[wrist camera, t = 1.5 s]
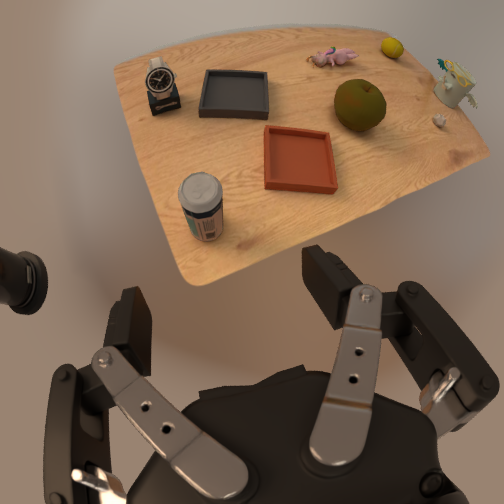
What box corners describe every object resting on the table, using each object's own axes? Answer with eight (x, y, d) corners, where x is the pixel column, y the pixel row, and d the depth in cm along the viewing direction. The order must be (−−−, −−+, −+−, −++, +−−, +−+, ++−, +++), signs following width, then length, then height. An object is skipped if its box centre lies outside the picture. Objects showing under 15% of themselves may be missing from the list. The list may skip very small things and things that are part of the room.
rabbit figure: (316, 76, 51) (363, 65, 52) (319, 58, 46) (368, 49, 46) (301, 61, 52) (348, 51, 53) (303, 44, 47) (352, 36, 47)
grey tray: (199, 117, 44) (198, 109, 41) (206, 77, 47) (206, 69, 44) (267, 120, 45) (269, 111, 42) (265, 80, 48) (267, 72, 45)
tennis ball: (374, 48, 57) (382, 33, 51) (386, 48, 59) (394, 33, 52) (390, 62, 56) (399, 46, 50) (401, 61, 58) (410, 47, 51)
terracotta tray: (264, 189, 41) (266, 182, 39) (263, 133, 44) (265, 125, 42) (333, 194, 42) (338, 188, 40) (325, 140, 45) (329, 132, 42)
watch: (154, 122, 43) (141, 79, 32) (149, 96, 44) (138, 55, 34) (183, 113, 44) (176, 69, 33) (175, 88, 45) (169, 47, 35)
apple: (380, 129, 47) (404, 96, 37) (354, 147, 45) (379, 110, 34) (346, 98, 49) (364, 62, 38) (317, 112, 46) (334, 72, 36)
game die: (433, 126, 51) (439, 119, 48) (430, 116, 52) (435, 109, 49) (443, 131, 51) (449, 124, 48) (439, 120, 52) (445, 114, 49)
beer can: (228, 218, 39) (230, 177, 28) (214, 247, 38) (209, 216, 26) (199, 206, 39) (190, 162, 28) (184, 234, 38) (168, 198, 27)
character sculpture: (413, 72, 57) (432, 44, 44) (433, 76, 59) (451, 52, 46) (451, 122, 53) (477, 95, 40) (468, 123, 55) (492, 100, 42)
